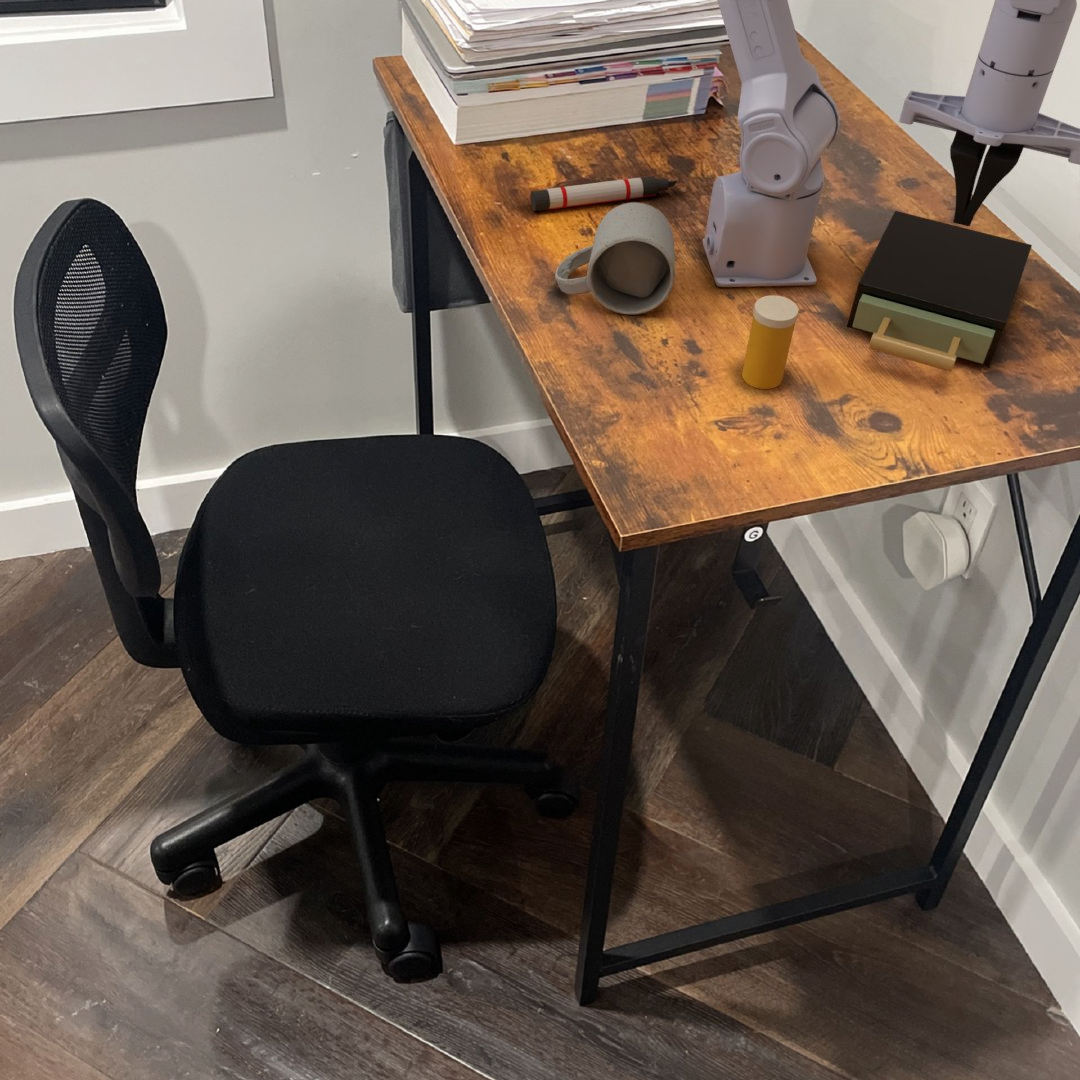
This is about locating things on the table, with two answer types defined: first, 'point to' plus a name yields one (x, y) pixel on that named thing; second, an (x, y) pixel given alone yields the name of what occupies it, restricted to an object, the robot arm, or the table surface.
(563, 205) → the marker
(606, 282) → the ceramic mug
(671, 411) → the table surface
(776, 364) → the pill bottle
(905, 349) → the drawer
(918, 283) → the cabinet
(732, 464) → the table surface
